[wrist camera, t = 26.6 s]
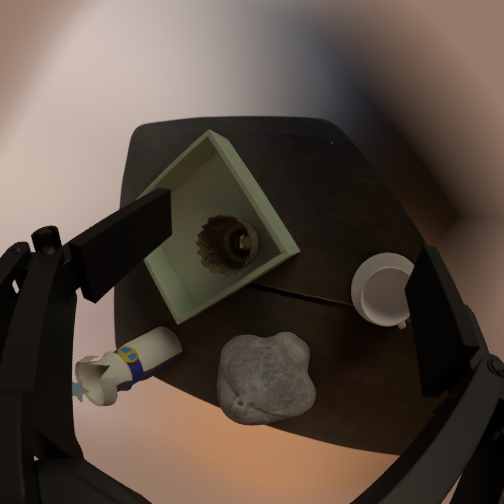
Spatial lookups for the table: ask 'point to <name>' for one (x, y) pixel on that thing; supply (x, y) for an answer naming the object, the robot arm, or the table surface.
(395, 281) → the teacup
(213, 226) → the dark brown hollow vessel
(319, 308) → the table surface
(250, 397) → the decorative stone
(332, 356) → the table surface
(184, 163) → the bin
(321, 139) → the table surface
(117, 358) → the white blue vase
